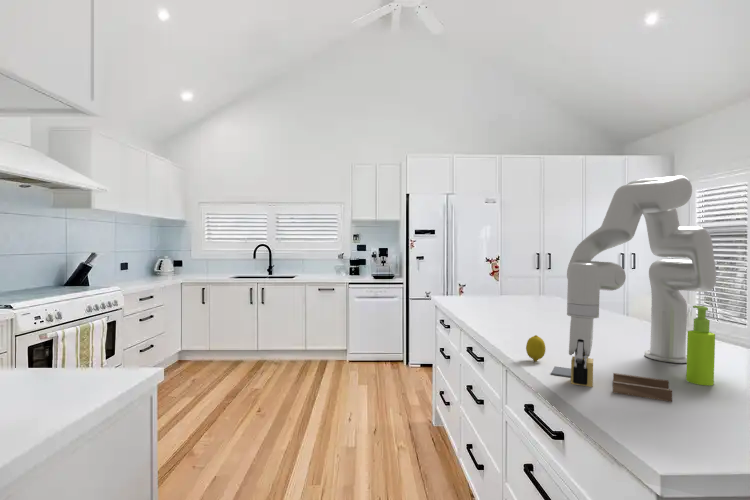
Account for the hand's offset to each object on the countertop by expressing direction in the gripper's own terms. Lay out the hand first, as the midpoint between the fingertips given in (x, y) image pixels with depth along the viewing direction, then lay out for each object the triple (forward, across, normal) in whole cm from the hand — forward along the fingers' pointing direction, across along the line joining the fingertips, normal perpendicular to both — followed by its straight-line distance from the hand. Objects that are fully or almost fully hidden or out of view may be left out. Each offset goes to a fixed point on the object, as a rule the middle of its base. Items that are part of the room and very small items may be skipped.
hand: (581, 379), depth 116 cm
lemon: (+1, -16, -14) cm, 21 cm away
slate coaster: (+1, -8, -4) cm, 8 cm away
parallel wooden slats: (+1, 0, +13) cm, 13 cm away
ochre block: (+1, 0, 0) cm, 1 cm away
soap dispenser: (+1, -18, +27) cm, 33 cm away
